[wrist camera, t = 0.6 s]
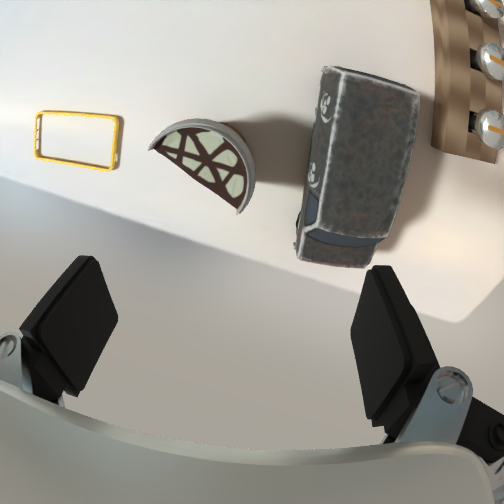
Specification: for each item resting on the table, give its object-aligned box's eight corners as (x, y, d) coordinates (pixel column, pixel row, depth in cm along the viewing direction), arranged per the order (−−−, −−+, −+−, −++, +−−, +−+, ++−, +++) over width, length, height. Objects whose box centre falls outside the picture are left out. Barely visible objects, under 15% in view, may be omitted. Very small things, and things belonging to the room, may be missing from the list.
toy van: (396, 85, 28) (434, 87, 20) (359, 250, 41) (377, 291, 33) (317, 65, 28) (333, 56, 20) (291, 241, 42) (294, 284, 33)
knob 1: (452, -14, 16) (475, -23, 11) (478, -1, 15) (501, -7, 10) (457, 13, 18) (481, 8, 13) (482, 25, 18) (507, 23, 13)
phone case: (40, 110, 32) (35, 111, 31) (122, 116, 33) (117, 117, 32) (38, 156, 36) (34, 158, 35) (116, 170, 38) (111, 172, 36)
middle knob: (459, 40, 20) (485, 37, 15) (484, 51, 20) (510, 51, 15) (461, 72, 23) (487, 73, 18) (485, 81, 22) (512, 85, 18)
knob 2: (460, 101, 25) (487, 106, 20) (485, 109, 25) (511, 116, 20) (458, 135, 28) (483, 145, 23) (482, 141, 27) (507, 152, 22)
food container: (279, 152, 35) (281, 173, 26) (249, 186, 37) (241, 218, 29) (202, 94, 31) (177, 96, 23) (175, 132, 34) (143, 147, 26)
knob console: (424, -29, 17) (437, -36, 14) (477, -5, 16) (491, -9, 13) (431, 145, 32) (445, 152, 28) (479, 156, 31) (494, 164, 27)
